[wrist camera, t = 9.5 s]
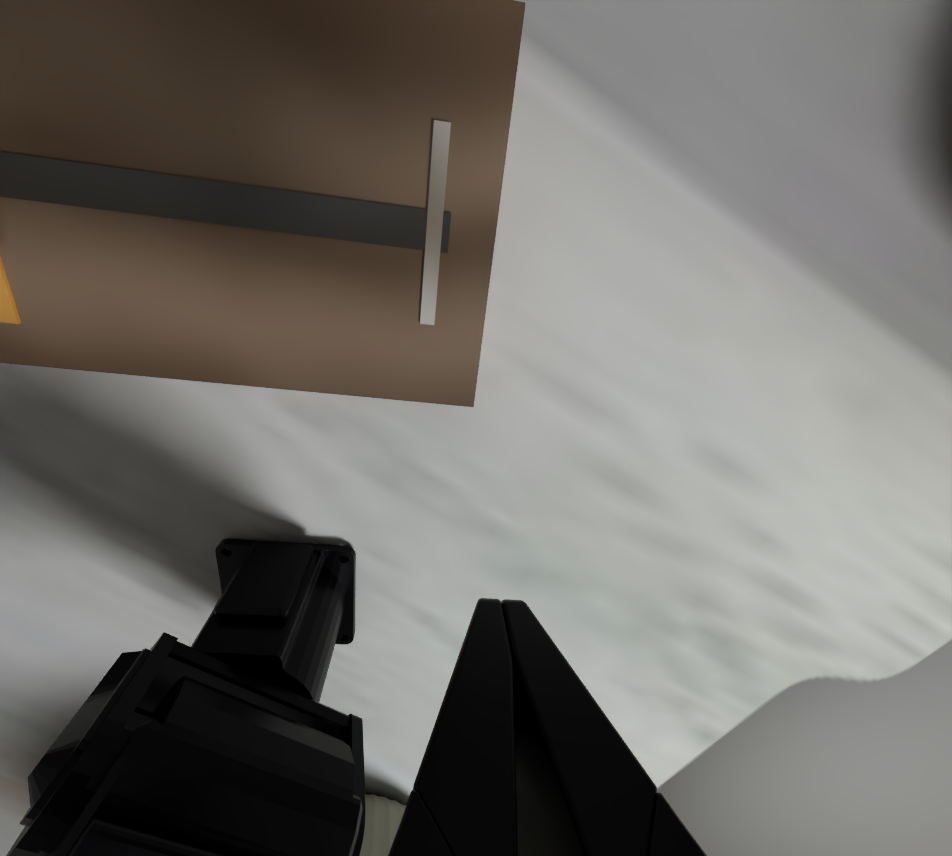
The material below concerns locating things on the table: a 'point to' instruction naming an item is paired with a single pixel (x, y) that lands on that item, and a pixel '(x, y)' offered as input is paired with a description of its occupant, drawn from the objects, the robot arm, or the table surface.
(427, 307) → the board
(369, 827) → the canister
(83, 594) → the table surface
